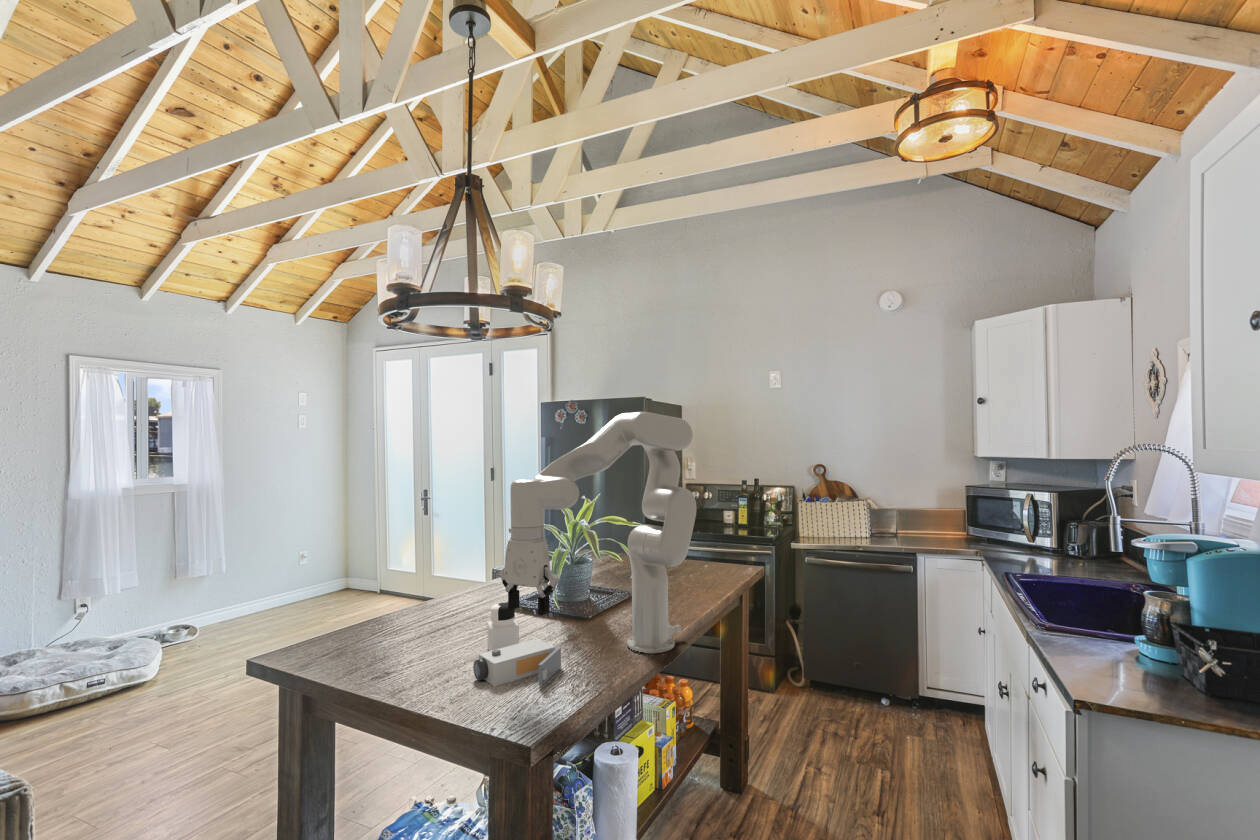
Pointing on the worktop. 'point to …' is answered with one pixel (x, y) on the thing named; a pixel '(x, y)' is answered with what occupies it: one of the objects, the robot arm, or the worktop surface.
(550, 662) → the side door
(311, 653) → the worktop surface
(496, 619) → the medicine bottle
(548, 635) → the worktop surface
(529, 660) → the camera body
